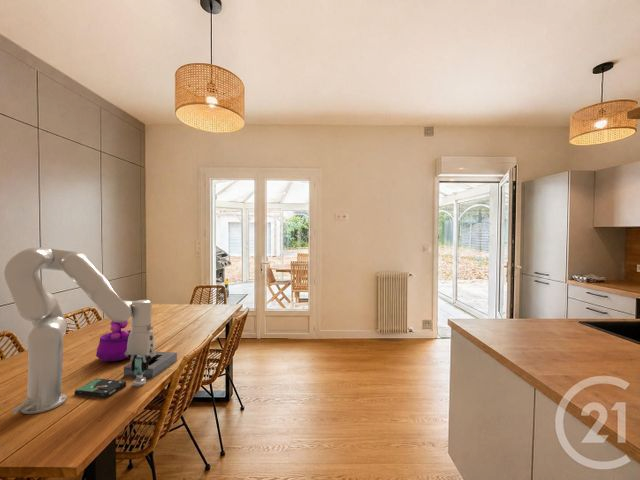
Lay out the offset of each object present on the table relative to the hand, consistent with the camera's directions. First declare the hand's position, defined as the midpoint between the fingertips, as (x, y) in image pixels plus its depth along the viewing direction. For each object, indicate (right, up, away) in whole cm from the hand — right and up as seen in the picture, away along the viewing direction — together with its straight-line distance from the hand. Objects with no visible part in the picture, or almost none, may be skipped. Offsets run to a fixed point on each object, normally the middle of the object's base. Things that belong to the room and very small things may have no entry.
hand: (139, 369), depth 127 cm
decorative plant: (-29, -6, +27) cm, 40 cm away
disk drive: (-12, -7, -6) cm, 15 cm away
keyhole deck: (-4, -6, +16) cm, 18 cm away
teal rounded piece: (0, -6, 0) cm, 6 cm away
